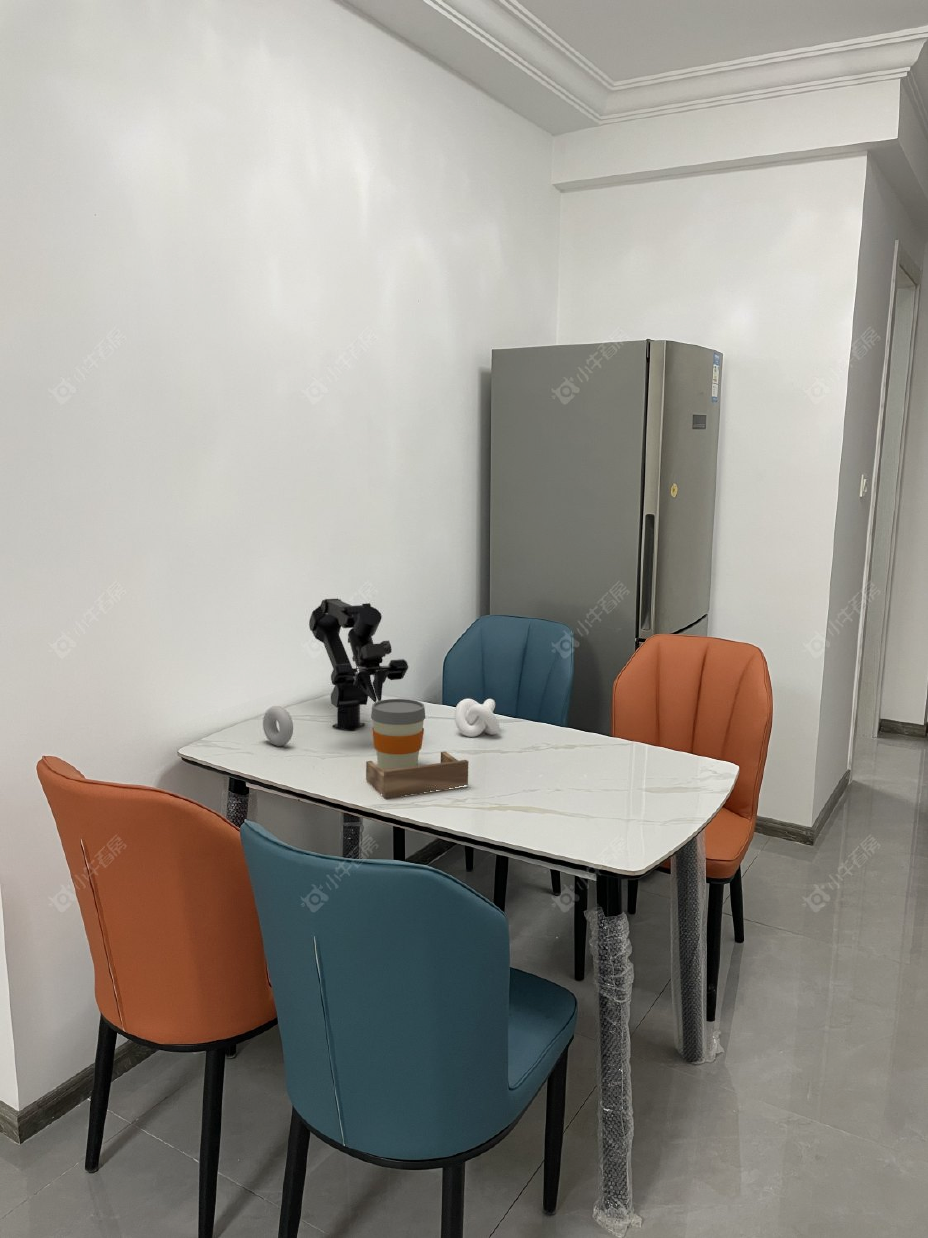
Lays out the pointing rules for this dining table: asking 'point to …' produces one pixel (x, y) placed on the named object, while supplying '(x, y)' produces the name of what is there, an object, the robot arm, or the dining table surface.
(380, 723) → the reusable coffee cup
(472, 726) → the white knot
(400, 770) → the holder
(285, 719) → the donut
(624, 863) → the dining table surface
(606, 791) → the dining table surface
